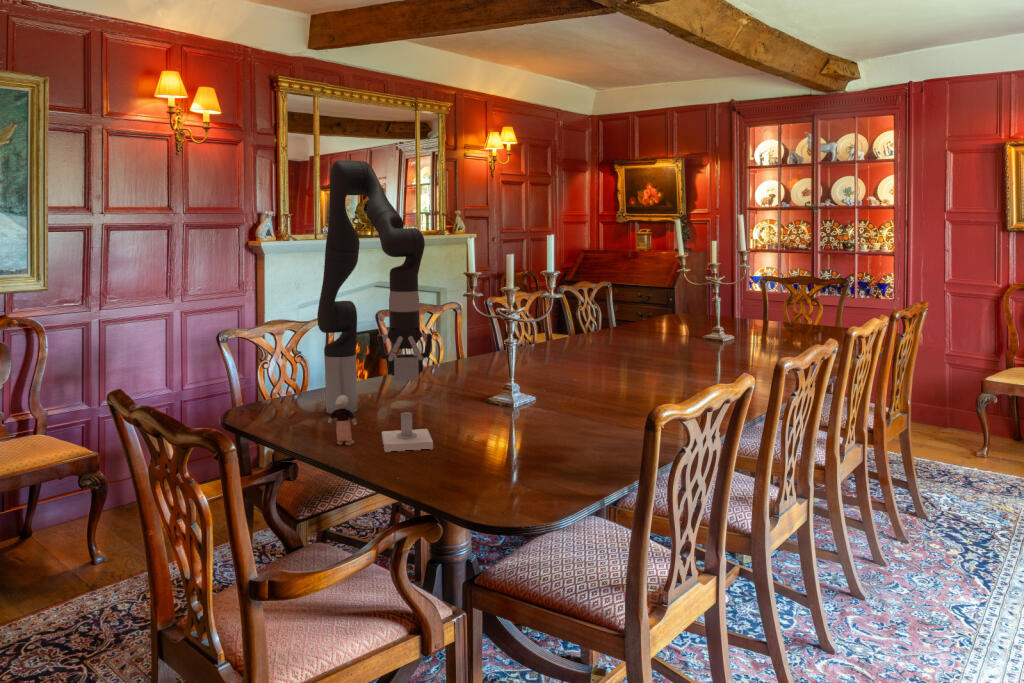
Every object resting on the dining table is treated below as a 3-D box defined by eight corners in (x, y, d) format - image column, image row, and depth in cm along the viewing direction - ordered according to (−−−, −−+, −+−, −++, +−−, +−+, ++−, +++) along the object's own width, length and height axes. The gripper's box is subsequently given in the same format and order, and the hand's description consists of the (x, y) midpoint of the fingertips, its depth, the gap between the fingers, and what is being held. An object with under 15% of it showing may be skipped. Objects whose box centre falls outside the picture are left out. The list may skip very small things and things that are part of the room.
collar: (392, 375, 194) (392, 354, 193) (416, 374, 195) (415, 353, 194) (394, 380, 188) (394, 358, 187) (418, 379, 190) (418, 357, 189)
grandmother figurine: (359, 441, 197) (358, 393, 195) (357, 445, 193) (355, 397, 191) (329, 441, 197) (328, 393, 195) (326, 445, 193) (325, 397, 191)
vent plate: (381, 438, 199) (381, 409, 198) (427, 436, 202) (427, 407, 200) (384, 452, 187) (384, 421, 186) (433, 449, 190) (432, 418, 189)
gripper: (431, 306, 194) (431, 370, 197) (374, 307, 191) (375, 372, 194) (434, 309, 187) (435, 376, 190) (375, 311, 184) (377, 378, 186)
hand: (405, 374), depth 192 cm, fingers closed on collar, 6 cm apart
